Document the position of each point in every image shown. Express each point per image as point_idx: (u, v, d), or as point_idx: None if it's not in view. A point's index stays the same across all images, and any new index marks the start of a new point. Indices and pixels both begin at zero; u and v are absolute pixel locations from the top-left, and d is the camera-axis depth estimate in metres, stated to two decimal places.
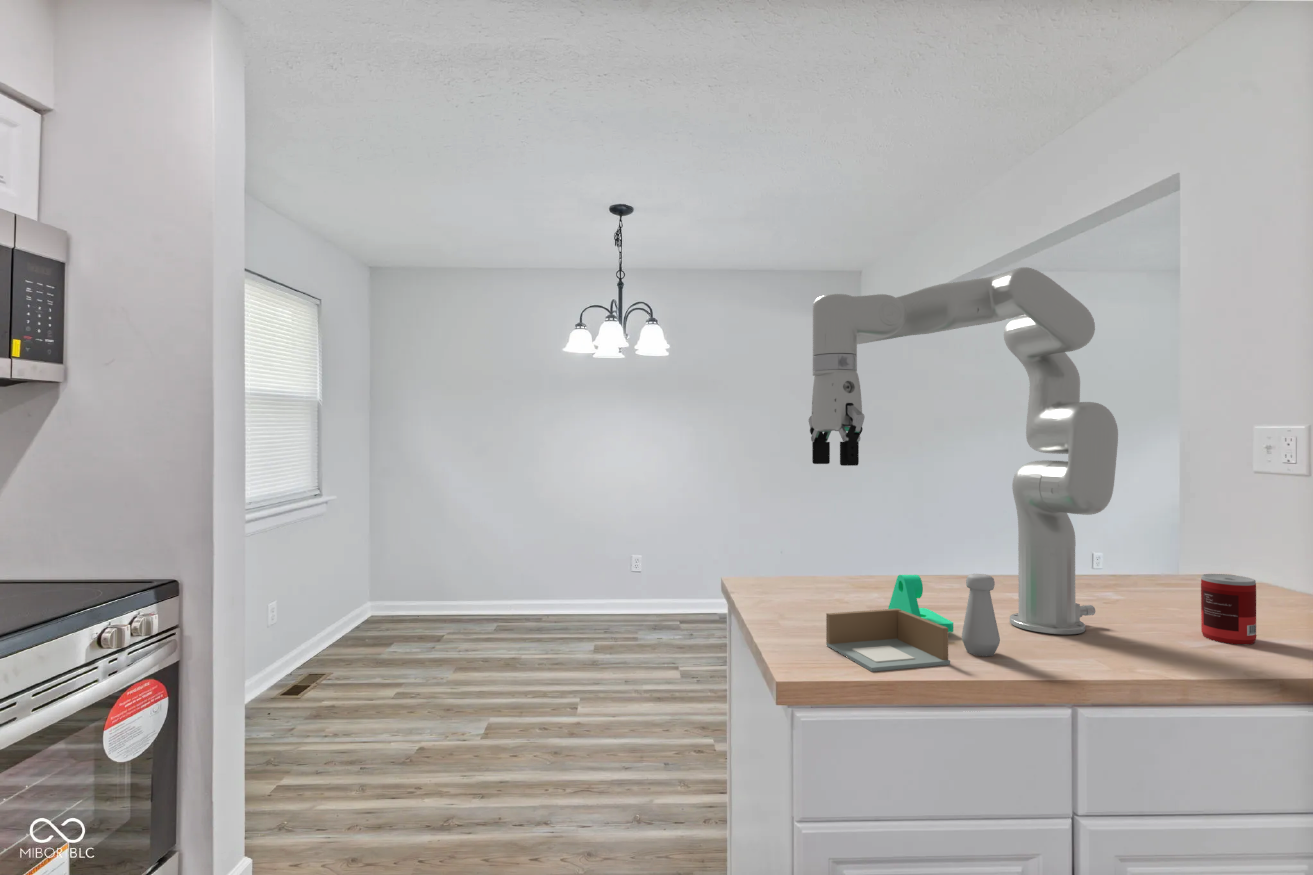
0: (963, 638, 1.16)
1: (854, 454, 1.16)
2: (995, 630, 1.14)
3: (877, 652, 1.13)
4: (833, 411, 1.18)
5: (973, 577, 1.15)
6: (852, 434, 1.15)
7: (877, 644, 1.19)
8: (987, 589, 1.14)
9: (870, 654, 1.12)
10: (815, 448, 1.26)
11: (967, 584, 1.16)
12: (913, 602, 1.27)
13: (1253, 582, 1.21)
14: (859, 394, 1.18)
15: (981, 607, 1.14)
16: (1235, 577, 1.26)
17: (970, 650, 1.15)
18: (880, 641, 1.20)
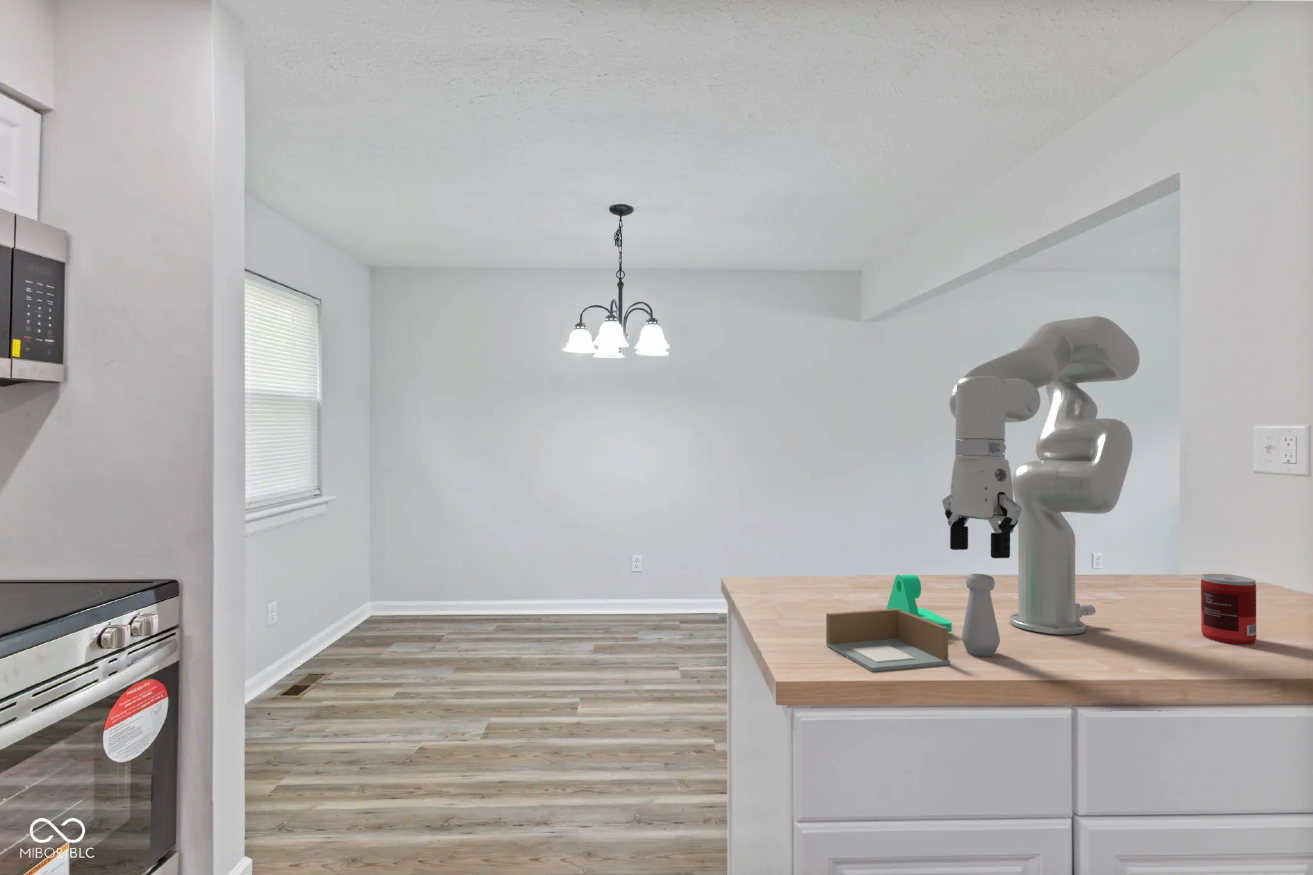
0: (963, 638, 1.16)
1: (1007, 546, 1.10)
2: (995, 630, 1.14)
3: (877, 652, 1.13)
4: (983, 500, 1.12)
5: (973, 577, 1.15)
6: (1007, 526, 1.09)
7: (877, 644, 1.19)
8: (987, 589, 1.14)
9: (870, 654, 1.12)
10: (954, 533, 1.20)
11: (967, 584, 1.16)
12: (912, 602, 1.27)
13: (1253, 582, 1.21)
14: (1010, 482, 1.12)
15: (981, 607, 1.14)
16: (1235, 577, 1.26)
17: (970, 650, 1.15)
18: (880, 641, 1.20)
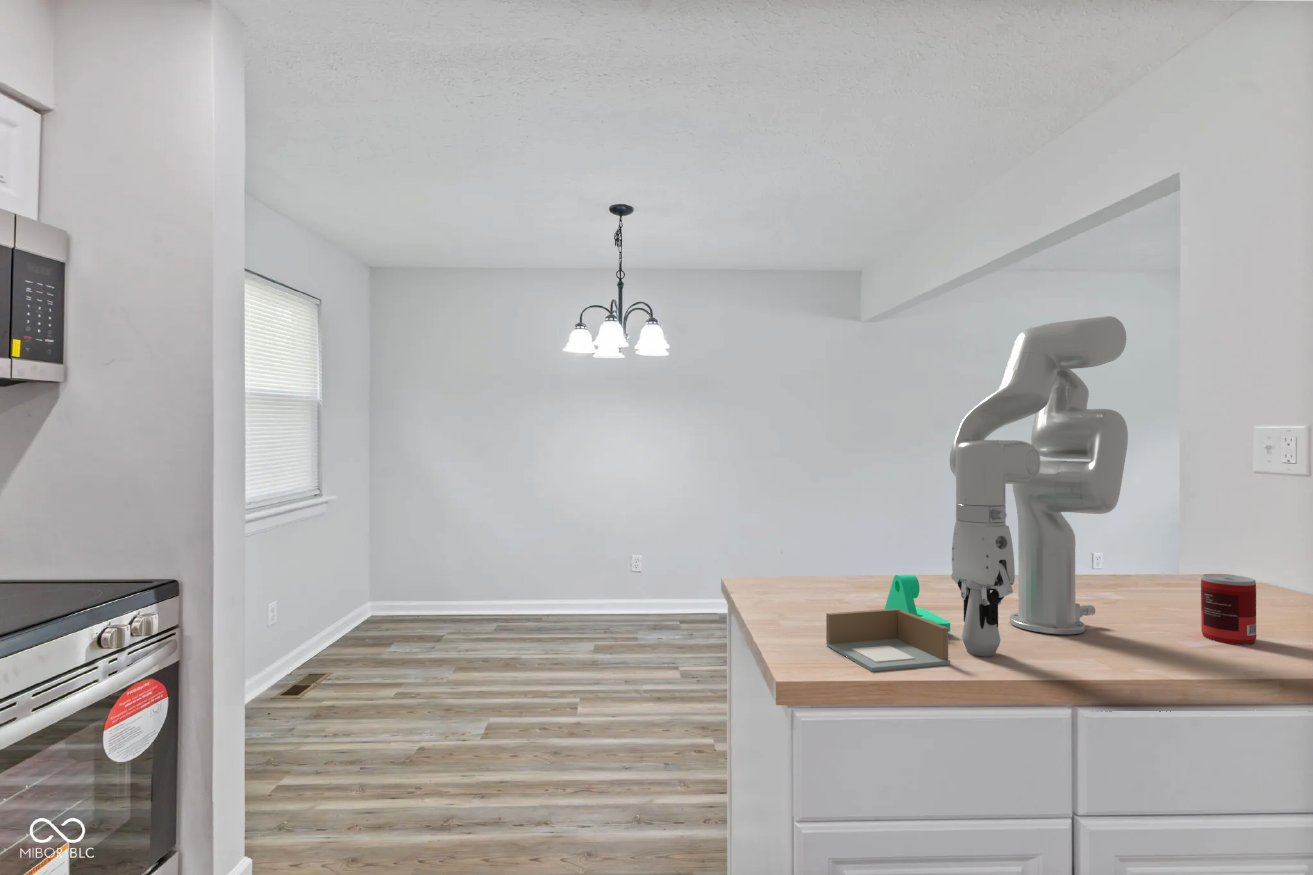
0: (963, 638, 1.16)
1: (995, 618, 1.13)
2: (995, 630, 1.14)
3: (877, 652, 1.13)
4: (984, 567, 1.12)
5: None
6: (994, 599, 1.12)
7: (877, 644, 1.19)
8: None
9: (870, 654, 1.12)
10: None
11: (967, 584, 1.16)
12: (910, 602, 1.27)
13: (1253, 582, 1.21)
14: (1011, 549, 1.12)
15: None
16: (1235, 577, 1.26)
17: (970, 650, 1.15)
18: (880, 641, 1.20)
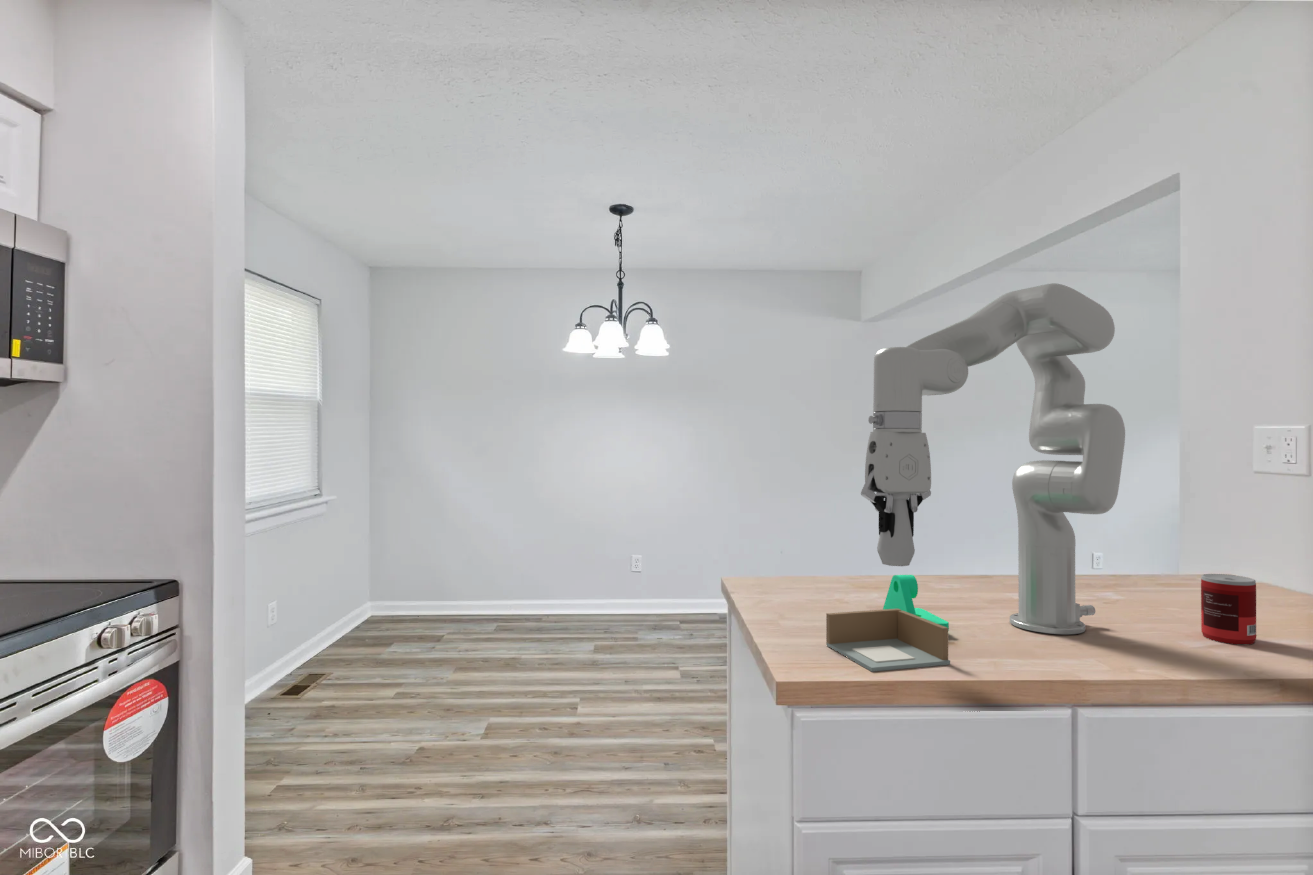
0: None
1: (883, 525, 1.12)
2: (887, 539, 1.12)
3: (877, 652, 1.13)
4: None
5: None
6: (873, 504, 1.13)
7: (877, 644, 1.19)
8: None
9: (870, 654, 1.12)
10: None
11: None
12: (909, 603, 1.27)
13: (1253, 582, 1.21)
14: (880, 455, 1.10)
15: None
16: (1235, 577, 1.26)
17: None
18: (880, 641, 1.20)
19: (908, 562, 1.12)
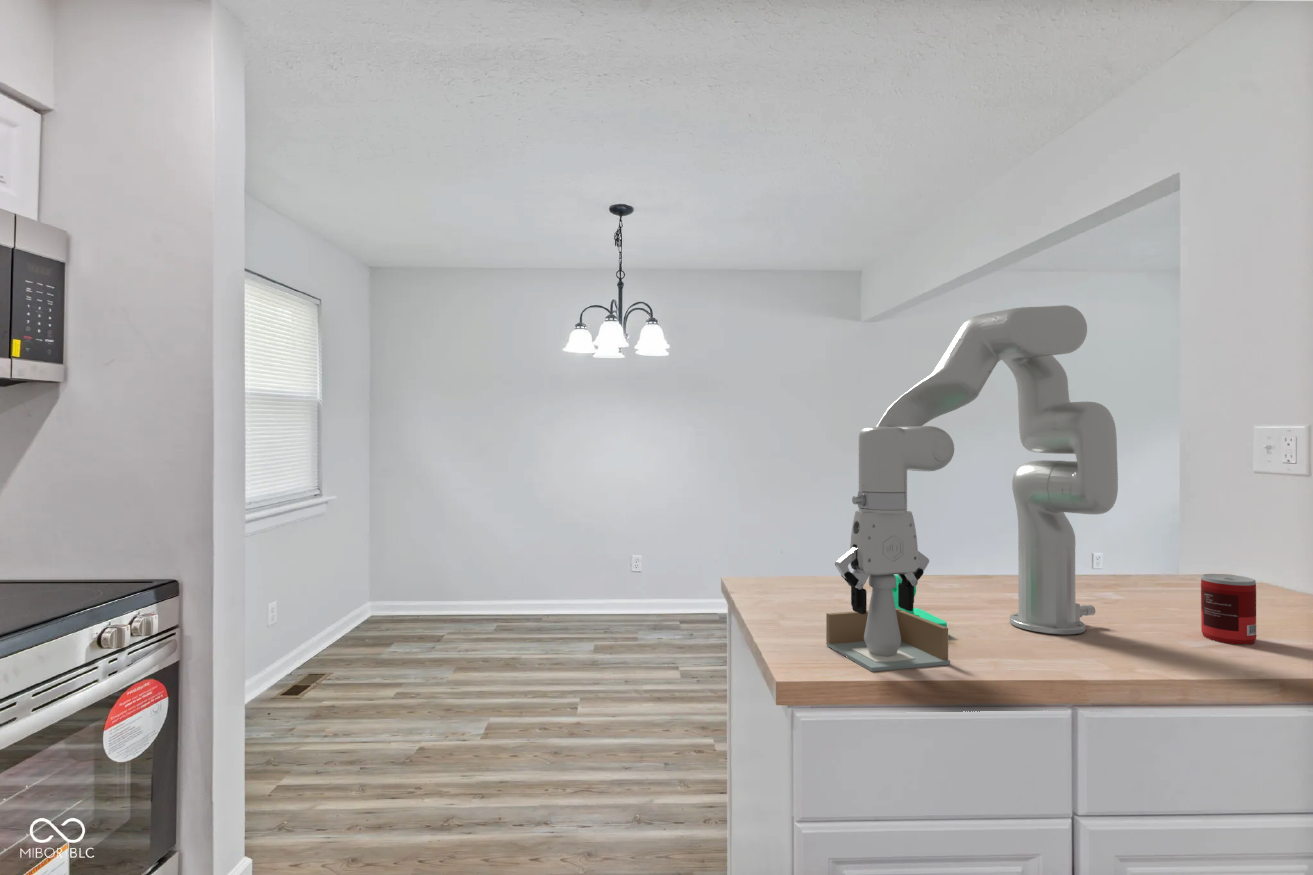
0: None
1: (855, 601, 1.11)
2: (872, 628, 1.12)
3: None
4: None
5: None
6: (845, 579, 1.12)
7: None
8: (870, 585, 1.13)
9: (870, 654, 1.12)
10: (899, 590, 1.15)
11: None
12: None
13: (1253, 582, 1.21)
14: (863, 536, 1.10)
15: (870, 603, 1.14)
16: (1235, 577, 1.26)
17: None
18: None
19: (894, 652, 1.12)
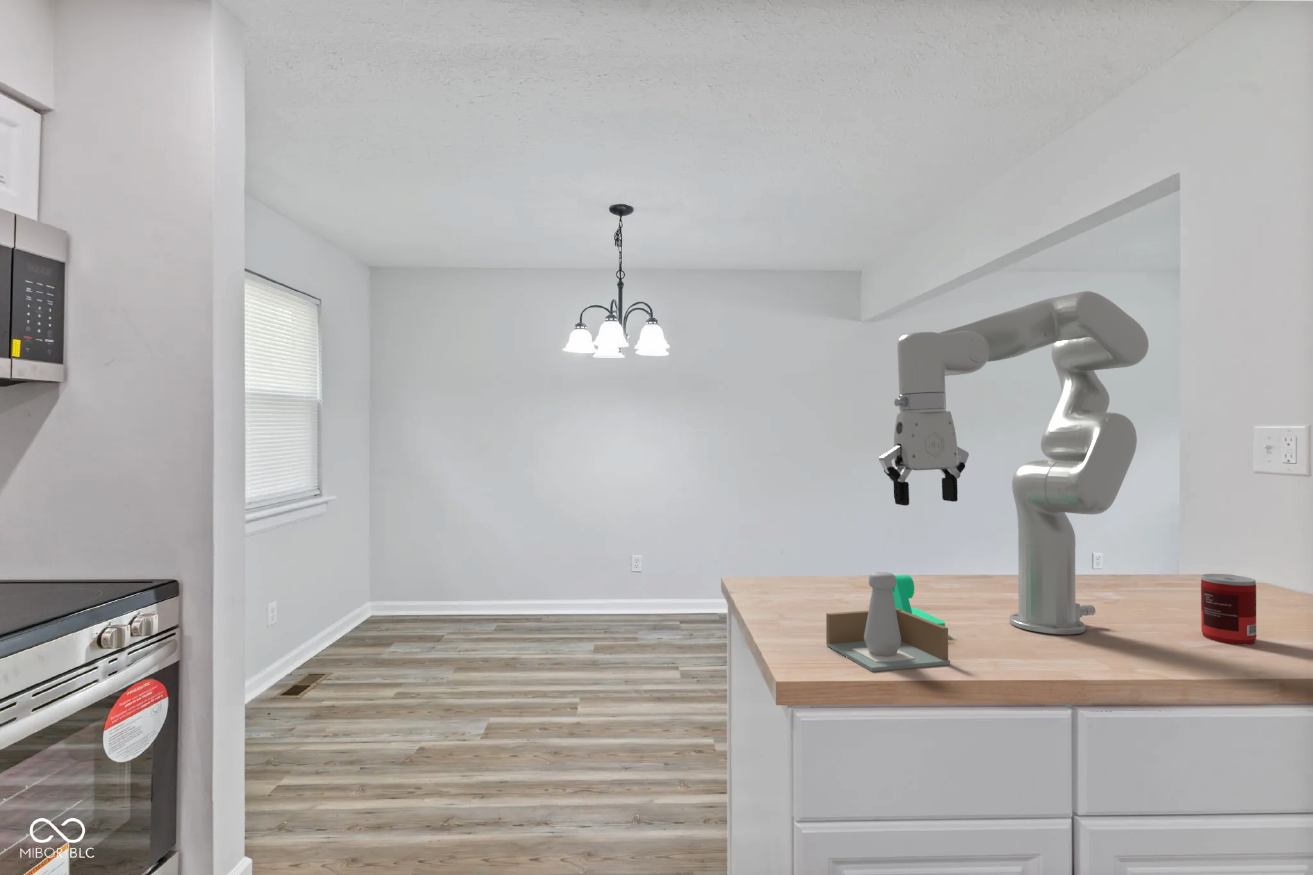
0: None
1: (898, 494, 1.19)
2: (872, 628, 1.12)
3: None
4: None
5: None
6: (888, 475, 1.20)
7: None
8: (870, 585, 1.13)
9: (870, 654, 1.12)
10: (942, 484, 1.24)
11: None
12: (906, 603, 1.27)
13: (1253, 582, 1.21)
14: (906, 435, 1.18)
15: None
16: (1235, 577, 1.26)
17: None
18: None
19: (894, 652, 1.12)
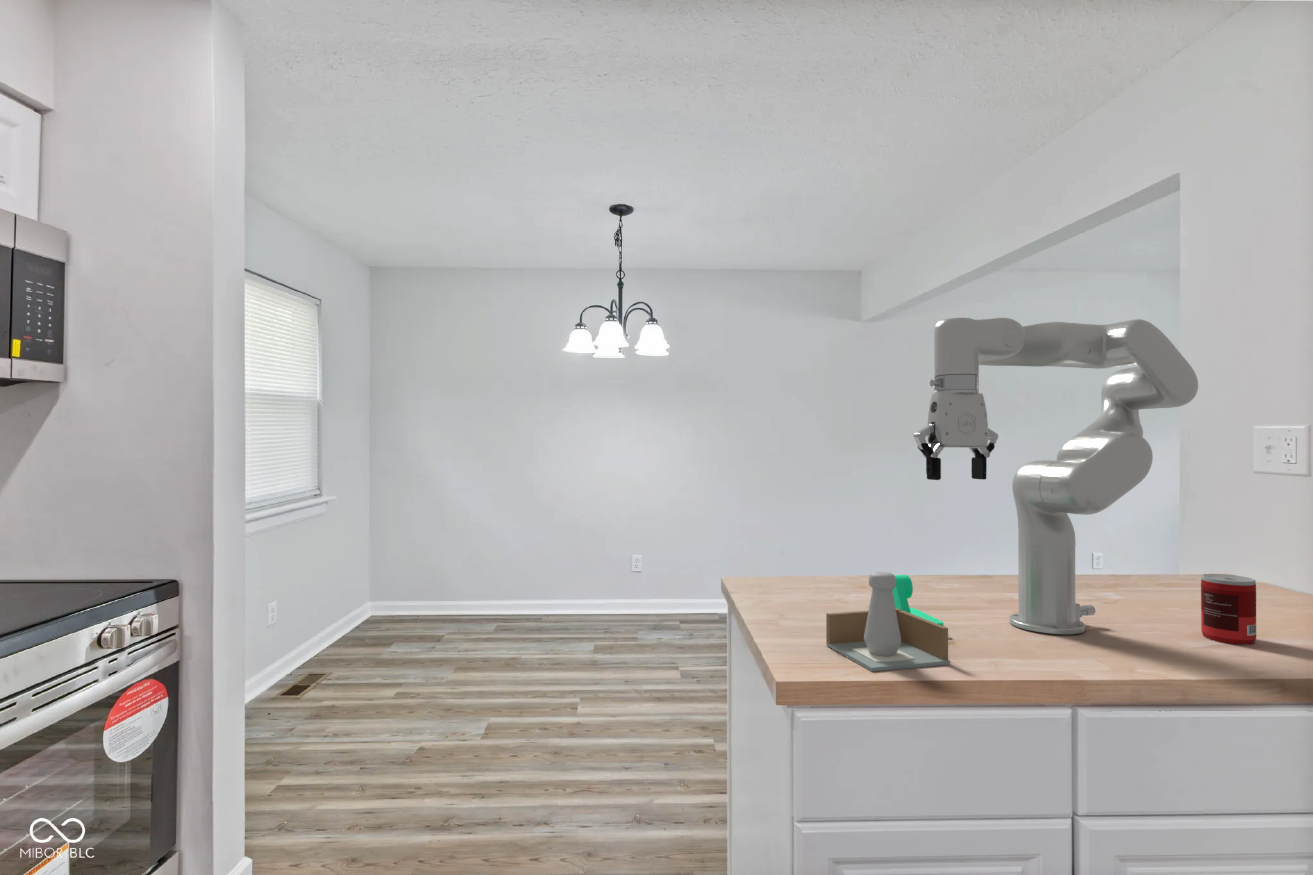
0: None
1: (930, 469, 1.26)
2: (872, 628, 1.12)
3: None
4: None
5: (873, 572, 1.15)
6: (921, 451, 1.27)
7: None
8: (870, 585, 1.13)
9: (870, 654, 1.12)
10: (972, 463, 1.30)
11: None
12: (904, 603, 1.27)
13: (1253, 582, 1.21)
14: (941, 413, 1.25)
15: None
16: (1235, 577, 1.26)
17: None
18: None
19: (894, 652, 1.12)
